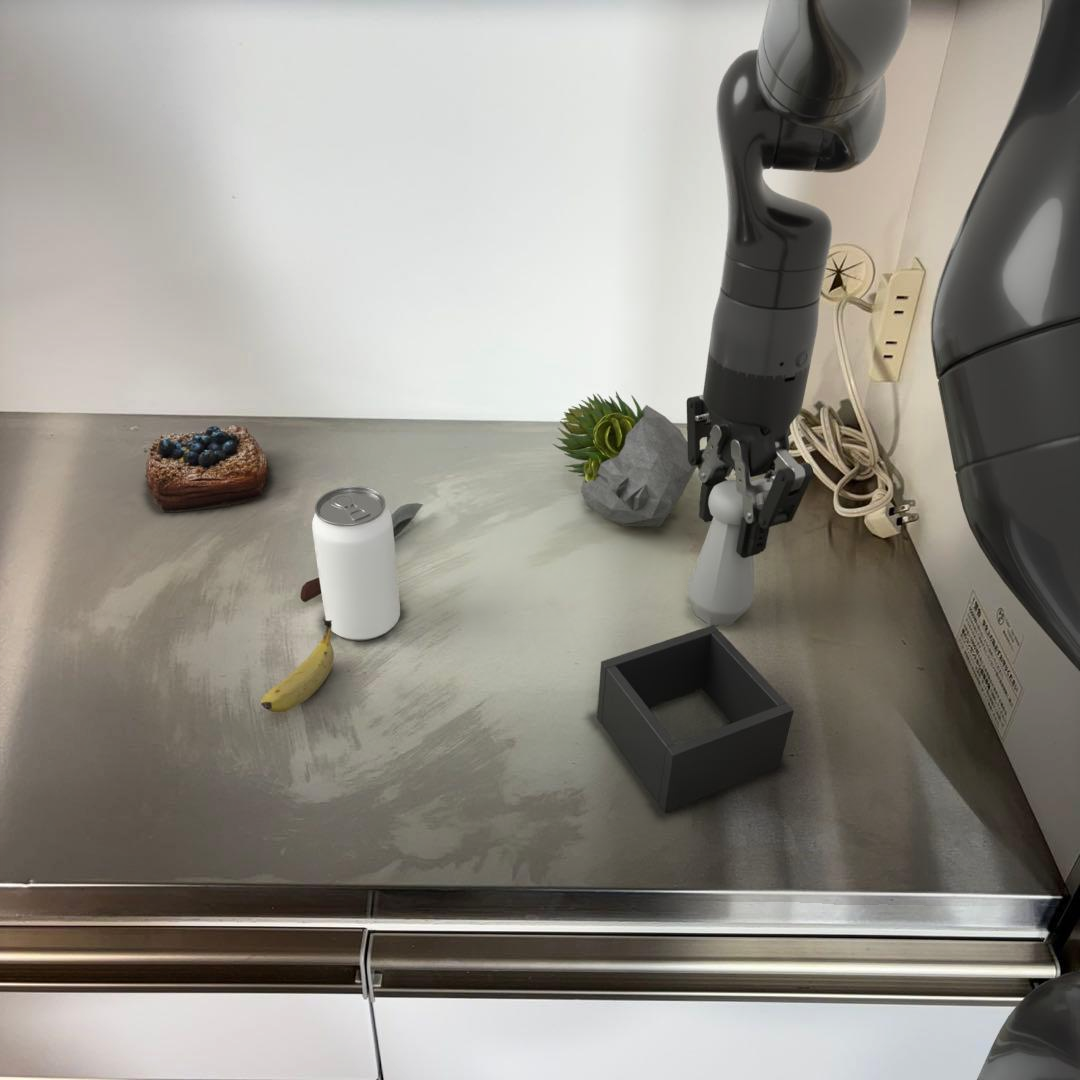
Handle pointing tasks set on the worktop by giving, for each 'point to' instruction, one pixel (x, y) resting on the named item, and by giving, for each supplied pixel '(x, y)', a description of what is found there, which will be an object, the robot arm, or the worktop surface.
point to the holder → (706, 757)
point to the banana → (302, 678)
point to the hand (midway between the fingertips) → (729, 535)
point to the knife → (399, 522)
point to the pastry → (206, 469)
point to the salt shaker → (723, 562)
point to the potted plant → (627, 460)
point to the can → (356, 562)
